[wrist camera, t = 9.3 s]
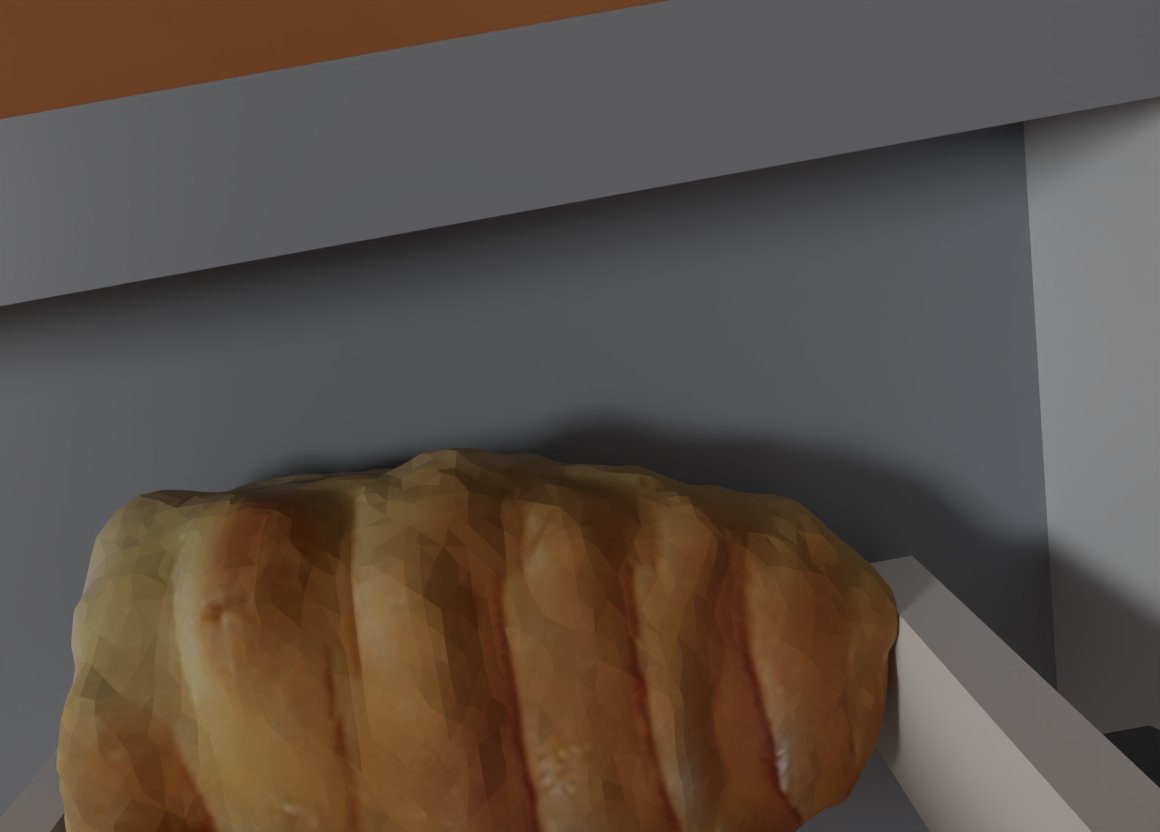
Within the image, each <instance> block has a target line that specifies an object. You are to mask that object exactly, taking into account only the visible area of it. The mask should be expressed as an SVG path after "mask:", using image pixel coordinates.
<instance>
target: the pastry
mask: <svg viewBox="0 0 1160 832" xmlns="http://www.w3.org/2000/svg"><path fill="white" fill-rule="evenodd" d="M897 628H898V614H897V604H896V600H895V597H894V594H893V592H892V589H891V587H890V586H889V585H888V584H887V583H886V581H885V580H884V579H883V578H882V576H881V575H880V574H879V573H878V572H877V570H876V569H875V568H874V567H873V566H872V565H871V564H870V563H869V562H868V561H866V560H865V559H864V558H863V557H862V556H860V555H859V554H858V553H857V552H856V551H855V550H853V549H852V548H851V547H850V546H848V545H847V544H846V543H845V542H844V541H842V540H841V539H840V538H839V537H837V536H836V535H835V534H834V533H833V532H832V531H830V530H829V529H828V528H827V527H826V526H825V525H824V523H823V522H822V521H821V520H819V519H818V518H817V517H816V516H815V515H813V514H812V513H811V512H810V511H809V510H808V509H806V508H805V507H804V506H803V505H802V504H800V503H799V502H798V501H795V500H792V499H790V498H787V497H784V496H781V495H773V494H760V493H744V492H736V491H733V490H730V489H727V488H724V487H720V486H715V485H688V484H686V483H683V482H680V481H677V480H674V479H671V478H669V477H666V476H664V475H661V474H659V473H657V472H654V471H652V470H649V469H647V468H644V467H642V466H638V465H623V466H610V465H592V464H566V463H562V462H558V461H554V460H551V459H548V458H545V457H542V456H540V455H537V454H535V453H530V452H519V453H512V454H510V455H503V454H498V453H493V452H489V451H486V450H482V449H477V448H449V449H439V450H432V451H428V452H424V453H421V454H420V455H418V456H417V457H415V458H413V459H411V460H410V461H408V462H406V463H404V464H403V465H401V466H399V467H397V468H395V469H393V468H374V469H372V470H370V471H366V472H350V471H341V472H336V473H327V474H322V473H301V474H296V475H292V476H286V477H278V478H271V479H268V480H263V481H258V482H252V483H248V484H246V485H243V486H240V487H237V488H234V489H231V490H229V491H225V492H201V491H190V490H159V491H156V492H150V493H145V494H140V495H139V496H137V497H135V498H134V499H132V500H131V501H129V502H127V503H126V504H125V505H123V506H122V507H121V508H119V509H118V510H117V511H115V512H114V513H113V515H112V516H111V518H110V519H109V520H108V522H107V523H106V524H105V526H104V527H103V529H102V530H101V531H100V533H99V534H98V535H97V537H96V540H95V544H94V547H93V551H92V555H91V559H90V564H89V568H88V573H87V577H86V581H85V586H84V590H83V594H82V598H81V600H80V601H79V603H78V605H77V606H76V608H75V610H74V615H73V626H72V638H71V647H72V652H73V657H74V662H75V671H74V678H73V685H72V687H71V689H70V691H69V693H68V696H67V698H66V701H65V705H64V709H63V713H62V717H61V721H60V729H59V739H58V749H57V766H56V770H57V772H58V773H59V775H60V777H59V790H60V793H61V797H62V800H63V803H64V820H65V827H66V832H796V831H797V830H798V829H799V828H800V827H801V826H802V825H804V824H805V823H806V822H808V821H809V820H810V819H811V818H813V817H814V816H815V815H816V814H818V813H820V812H821V811H823V810H824V809H827V808H830V807H833V806H836V805H839V804H840V803H842V802H843V801H844V800H846V799H847V798H848V797H849V795H850V794H851V792H852V790H853V788H854V786H855V785H856V783H857V781H858V779H859V777H860V775H861V774H862V772H863V770H864V768H865V766H866V763H867V761H868V759H869V757H870V755H871V753H872V751H873V750H874V748H875V746H876V744H877V742H878V738H879V733H880V728H881V723H882V718H883V713H884V707H885V700H886V693H887V686H888V653H889V651H890V649H891V647H892V645H893V643H894V641H895V639H896V633H897Z"/></svg>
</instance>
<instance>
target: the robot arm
mask: <svg viewBox="0 0 1160 832" xmlns="http://www.w3.org/2000/svg"><path fill="white" fill-rule="evenodd" d="M870 564H871V565H872V566H873V567H874V568H875V569H876V570H877V572H878V573H879V574H880V575H881V576H882V578H883V579H884V580H885V581H886V583H887V584H888V585H889V586H890V587H891V589H892V592H893V594H894V597H895V600H896V604H897V614H898V628H897V633H896V639H895V641H894V643H893V645H892V647H891V649H890V651H889V653H888V686H887V693H886V700H885V707H884V713H883V718H882V723H881V728H880V733H879V738H878V742H877V744H876V748H877V749H878V751H879V752H880V754H881V755H882V757H883V759H884V760H885V762H886V763H887V765H888V766H889V768H890V770H891V771H892V773H893V774H894V776H895V778H896V779H897V781H898V782H899V784H900V785H901V787H902V789H903V790H904V792H905V793H906V795H907V796H908V798H909V800H910V801H911V803H912V804H913V806H914V808H915V809H916V811H917V812H918V814H919V815H920V817H921V819H922V820H923V822H924V823H925V825H926V826H927V828H928V830H929V831H930V832H1160V730H1159V729H1156V728H1154V727H1152V726H1150V725H1148V726H1142V727H1137V728H1132V729H1126V730H1121V731H1116V732H1110V733H1105V734H1102V733H1101V732H1100V731H1098V730H1097V729H1096V728H1095V727H1094V726H1093V725H1092V724H1091V723H1090V722H1089V721H1088V720H1087V719H1086V718H1085V717H1084V716H1082V715H1081V714H1080V713H1079V712H1078V711H1077V710H1076V709H1075V708H1074V707H1073V706H1072V705H1071V704H1070V703H1069V702H1068V701H1067V700H1065V699H1064V698H1063V697H1062V696H1061V695H1060V694H1059V693H1058V692H1057V691H1056V690H1055V689H1054V688H1053V687H1052V686H1051V685H1049V684H1048V683H1047V682H1046V681H1045V680H1044V679H1043V678H1042V677H1041V676H1040V675H1039V674H1038V673H1037V672H1036V671H1035V670H1034V669H1032V668H1031V667H1030V666H1029V665H1028V664H1027V663H1026V662H1025V661H1024V660H1023V659H1022V658H1021V657H1020V656H1019V655H1018V654H1016V653H1015V652H1014V651H1013V650H1012V649H1011V648H1010V647H1009V646H1008V645H1007V644H1006V643H1005V642H1004V641H1003V640H1002V639H1001V638H999V637H998V636H997V635H996V634H995V633H994V632H993V631H992V630H991V629H990V628H989V627H988V626H987V625H986V624H985V623H983V622H982V621H981V620H980V619H979V618H978V617H977V616H976V615H975V614H974V613H973V612H972V611H971V610H970V609H969V608H967V607H966V606H965V605H964V604H963V603H962V602H961V601H960V600H959V599H958V598H957V597H956V596H955V595H954V594H953V593H952V592H950V591H949V590H948V589H947V588H946V587H945V586H944V585H943V584H942V583H941V582H940V581H939V580H938V579H937V578H936V577H934V576H933V575H932V574H931V573H930V572H929V571H928V570H927V569H926V568H925V567H924V566H923V565H922V564H921V563H920V562H919V561H917V560H916V559H915V558H914V557H913V556H907V557H902V558H896V559H891V560H885V561H880V562H874V563H870ZM56 766H57V750H56V751H55V752H54V753H53V755H52V756H51V757H50V758H49V759H48V761H47V762H46V763H45V764H44V765H43V767H42V768H41V769H40V770H39V771H38V773H37V774H36V775H35V776H34V777H33V779H32V780H31V781H30V782H29V783H28V785H27V786H26V787H25V788H24V789H23V791H22V792H21V793H20V794H19V795H18V797H17V798H16V799H15V800H14V801H13V803H12V804H11V805H10V806H9V807H8V809H7V810H6V811H5V812H4V813H3V815H2V816H1V817H0V832H66V827H65V820H64V803H63V800H62V797H61V793H60V790H59V777H60V775H59V773H58V772H57V770H56Z"/></svg>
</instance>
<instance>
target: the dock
mask: <svg viewBox="0 0 1160 832" xmlns="http://www.w3.org/2000/svg"><path fill="white" fill-rule="evenodd" d="M449 448H477V449H482V450H486V451H489V452H493V453H498V454H503V455H510V454H512V453H519V452H530V453H535V454H537V455H540V456H542V457H545V458H548V459H551V460H554V461H558V462H562V463H566V464H592V465H610V466H623V465H638V466H642V467H644V468H647V469H649V470H652V471H654V472H657V473H659V474H661V475H664V476H666V477H669V478H671V479H674V480H677V481H680V482H683V483H686V484H688V485H715V486H720V487H724V488H727V489H730V490H733V491H736V492H744V493H760V494H773V495H781V496H784V497H787V498H790V499H792V500H795V501H798V502H799V503H800V504H802V505H803V506H804V507H805V508H806V509H808V510H809V511H810V512H811V513H812V514H813V515H815V516H816V517H817V518H818V519H819V520H821V521H822V522H823V523H824V525H825V526H826V527H827V528H828V529H829V530H830V531H832V532H833V533H834V534H835V535H836V536H837V537H839V538H840V539H841V540H842V541H844V542H845V543H846V544H847V545H848V546H850V547H851V548H852V549H853V550H855V551H856V552H857V553H858V554H859V555H860V556H862V557H863V558H864V559H865V560H866V561H868V562H869V563H874V562H880V561H885V560H891V559H896V558H902V557H907V556H913V557H914V558H915V559H916V560H917V561H919V562H920V563H921V564H922V565H923V566H924V567H925V568H926V569H927V570H928V571H929V572H930V573H931V574H932V575H933V576H934V577H936V578H937V579H938V580H939V581H940V582H941V583H942V584H943V585H944V586H945V587H946V588H947V589H948V590H949V591H950V592H952V593H953V594H954V595H955V596H956V597H957V598H958V599H959V600H960V601H961V602H962V603H963V604H964V605H965V606H966V607H967V608H969V609H970V610H971V611H972V612H973V613H974V614H975V615H976V616H977V617H978V618H979V619H980V620H981V621H982V622H983V623H985V624H986V625H987V626H988V627H989V628H990V629H991V630H992V631H993V632H994V633H995V634H996V635H997V636H998V637H999V638H1001V639H1002V640H1003V641H1004V642H1005V643H1006V644H1007V645H1008V646H1009V647H1010V648H1011V649H1012V650H1013V651H1014V652H1015V653H1016V654H1018V655H1019V656H1020V657H1021V658H1022V659H1023V660H1024V661H1025V662H1026V663H1027V664H1028V665H1029V666H1030V667H1031V668H1032V669H1034V670H1035V671H1036V672H1037V673H1038V674H1039V675H1040V676H1041V677H1042V678H1043V679H1044V680H1045V681H1046V682H1047V683H1048V684H1049V685H1051V686H1052V687H1053V688H1054V689H1055V690H1056V691H1057V692H1058V693H1059V694H1060V695H1061V696H1062V697H1063V698H1064V699H1065V700H1067V701H1068V702H1069V703H1070V704H1071V705H1072V706H1073V707H1074V708H1075V709H1076V710H1077V711H1078V712H1079V713H1080V714H1081V715H1082V716H1084V717H1085V718H1086V719H1087V720H1088V721H1089V722H1090V723H1091V724H1092V725H1093V726H1094V727H1095V728H1096V729H1097V730H1098V731H1100V732H1101V733H1102V734H1105V733H1110V732H1116V731H1121V730H1126V729H1132V728H1137V727H1142V726H1148V725H1150V726H1152V727H1154V728H1156V729H1159V730H1160V0H669V1H663V2H658V3H652V4H647V5H641V6H635V7H630V8H624V9H618V10H613V11H607V12H602V13H596V14H590V15H585V16H579V17H573V18H568V19H562V20H557V21H551V22H545V23H540V24H534V25H528V26H523V27H517V28H511V29H506V30H500V31H495V32H489V33H483V34H478V35H472V36H466V37H461V38H455V39H450V40H444V41H438V42H433V43H427V44H421V45H416V46H410V47H404V48H399V49H393V50H388V51H382V52H376V53H371V54H365V55H359V56H354V57H348V58H343V59H337V60H331V61H326V62H320V63H314V64H309V65H303V66H298V67H292V68H286V69H281V70H275V71H269V72H264V73H258V74H252V75H247V76H241V77H236V78H230V79H224V80H219V81H213V82H207V83H202V84H196V85H191V86H185V87H179V88H174V89H168V90H162V91H157V92H151V93H145V94H140V95H134V96H129V97H123V98H117V99H112V100H106V101H100V102H95V103H89V104H84V105H78V106H72V107H67V108H61V109H55V110H50V111H44V112H39V113H33V114H27V115H22V116H16V117H10V118H5V119H0V817H1V816H2V815H3V813H4V812H5V811H6V810H7V809H8V807H9V806H10V805H11V804H12V803H13V801H14V800H15V799H16V798H17V797H18V795H19V794H20V793H21V792H22V791H23V789H24V788H25V787H26V786H27V785H28V783H29V782H30V781H31V780H32V779H33V777H34V776H35V775H36V774H37V773H38V771H39V770H40V769H41V768H42V767H43V765H44V764H45V763H46V762H47V761H48V759H49V758H50V757H51V756H52V755H53V753H54V752H55V751H56V750H57V749H58V739H59V729H60V721H61V717H62V713H63V709H64V705H65V701H66V698H67V696H68V693H69V691H70V689H71V687H72V685H73V678H74V671H75V662H74V657H73V652H72V647H71V638H72V626H73V615H74V610H75V608H76V606H77V605H78V603H79V601H80V600H81V598H82V594H83V590H84V586H85V581H86V577H87V573H88V568H89V564H90V559H91V555H92V551H93V547H94V544H95V540H96V537H97V535H98V534H99V533H100V531H101V530H102V529H103V527H104V526H105V524H106V523H107V522H108V520H109V519H110V518H111V516H112V515H113V513H114V512H115V511H117V510H118V509H119V508H121V507H122V506H123V505H125V504H126V503H127V502H129V501H131V500H132V499H134V498H135V497H137V496H139V495H140V494H145V493H150V492H156V491H159V490H190V491H201V492H225V491H229V490H231V489H234V488H237V487H240V486H243V485H246V484H248V483H252V482H258V481H263V480H268V479H271V478H278V477H286V476H292V475H296V474H301V473H322V474H327V473H336V472H341V471H350V472H366V471H370V470H372V469H374V468H393V469H395V468H397V467H399V466H401V465H403V464H404V463H406V462H408V461H410V460H411V459H413V458H415V457H417V456H418V455H420V454H421V453H424V452H428V451H432V450H439V449H449ZM796 832H930V831H929V830H928V828H927V826H926V825H925V823H924V822H923V820H922V819H921V817H920V815H919V814H918V812H917V811H916V809H915V808H914V806H913V804H912V803H911V801H910V800H909V798H908V796H907V795H906V793H905V792H904V790H903V789H902V787H901V785H900V784H899V782H898V781H897V779H896V778H895V776H894V774H893V773H892V771H891V770H890V768H889V766H888V765H887V763H886V762H885V760H884V759H883V757H882V755H881V754H880V752H879V751H878V749H877V748H876V746H875V748H874V750H873V751H872V753H871V755H870V757H869V759H868V761H867V763H866V766H865V768H864V770H863V772H862V774H861V775H860V777H859V779H858V781H857V783H856V785H855V786H854V788H853V790H852V792H851V794H850V795H849V797H848V798H847V799H846V800H844V801H843V802H842V803H840V804H839V805H836V806H833V807H830V808H827V809H824V810H823V811H821V812H820V813H818V814H816V815H815V816H814V817H813V818H811V819H810V820H809V821H808V822H806V823H805V824H804V825H802V826H801V827H800V828H799V829H798V830H797V831H796Z"/></svg>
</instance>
